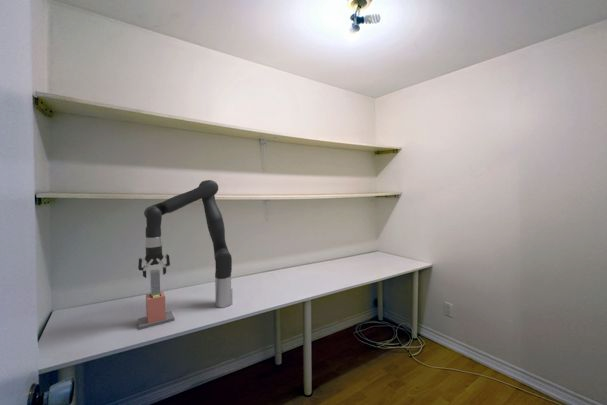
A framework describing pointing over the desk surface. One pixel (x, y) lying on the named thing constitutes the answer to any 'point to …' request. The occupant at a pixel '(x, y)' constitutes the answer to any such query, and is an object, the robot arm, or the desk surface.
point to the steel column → (154, 282)
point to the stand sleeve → (155, 312)
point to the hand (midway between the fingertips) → (154, 275)
